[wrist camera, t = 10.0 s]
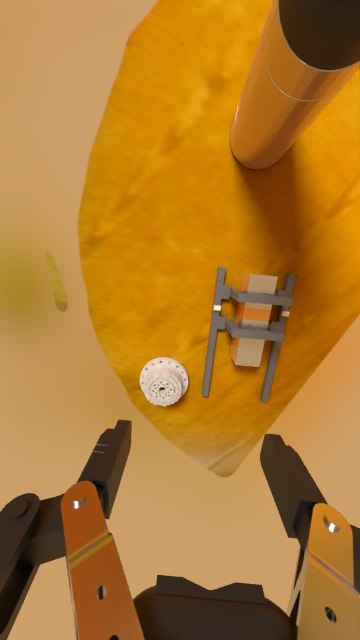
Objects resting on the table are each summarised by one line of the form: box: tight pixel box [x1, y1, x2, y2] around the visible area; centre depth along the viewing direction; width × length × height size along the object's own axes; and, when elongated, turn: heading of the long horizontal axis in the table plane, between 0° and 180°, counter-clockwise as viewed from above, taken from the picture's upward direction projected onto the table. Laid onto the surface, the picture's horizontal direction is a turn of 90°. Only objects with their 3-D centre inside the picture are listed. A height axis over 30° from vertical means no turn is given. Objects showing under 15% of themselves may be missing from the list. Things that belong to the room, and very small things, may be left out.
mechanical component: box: [140, 357, 188, 407], centre depth 41 cm, size 10×4×10 cm
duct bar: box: [230, 273, 278, 367], centre depth 37 cm, size 16×4×4 cm, turn 175°
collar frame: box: [202, 267, 297, 402], centre depth 37 cm, size 26×14×7 cm, turn 175°
